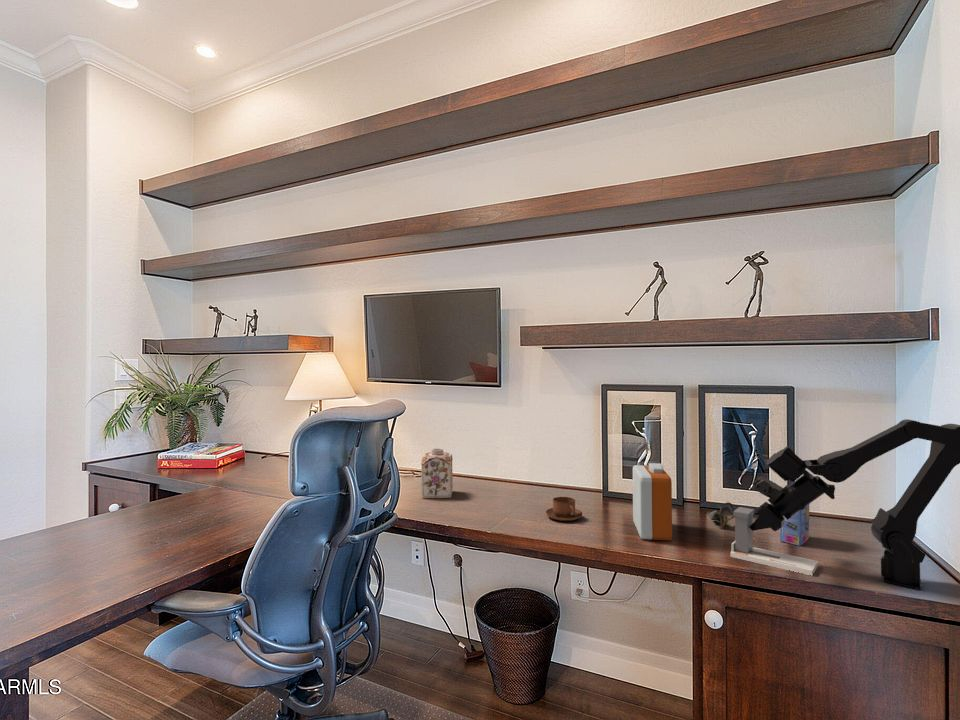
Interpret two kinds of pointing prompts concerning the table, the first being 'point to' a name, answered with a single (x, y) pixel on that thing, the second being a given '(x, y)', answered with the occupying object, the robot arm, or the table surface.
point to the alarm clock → (652, 502)
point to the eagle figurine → (723, 514)
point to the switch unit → (776, 560)
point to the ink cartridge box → (796, 528)
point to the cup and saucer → (564, 509)
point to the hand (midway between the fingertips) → (751, 528)
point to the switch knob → (743, 529)
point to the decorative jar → (436, 474)
